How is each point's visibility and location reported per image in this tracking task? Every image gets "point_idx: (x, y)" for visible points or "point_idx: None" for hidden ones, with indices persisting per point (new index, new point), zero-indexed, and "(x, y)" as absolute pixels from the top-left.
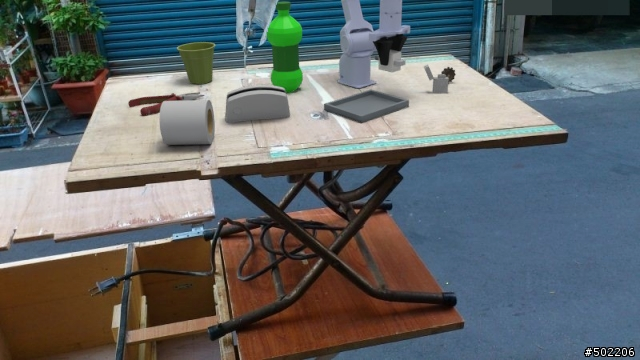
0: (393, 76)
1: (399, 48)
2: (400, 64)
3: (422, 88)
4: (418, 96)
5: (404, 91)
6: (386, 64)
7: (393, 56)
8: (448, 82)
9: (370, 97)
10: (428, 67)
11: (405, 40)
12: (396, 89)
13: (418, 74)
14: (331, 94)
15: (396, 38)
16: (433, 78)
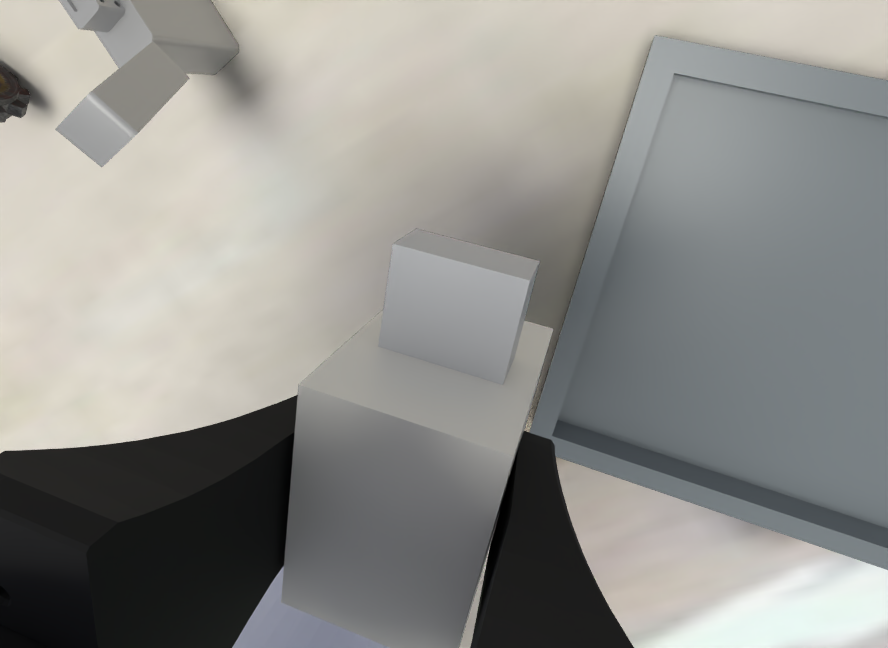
0: (134, 437)
1: (254, 452)
2: (515, 263)
3: (200, 178)
4: (365, 111)
5: (325, 259)
6: (552, 445)
7: (504, 425)
8: (1, 70)
9: (618, 399)
10: (103, 92)
11: (50, 459)
12: (321, 325)
13: (15, 328)
14: (634, 635)
15: (138, 644)
16: (156, 44)
